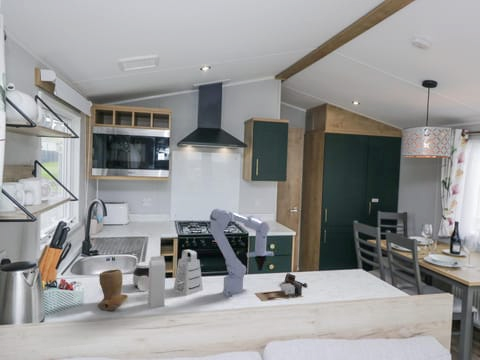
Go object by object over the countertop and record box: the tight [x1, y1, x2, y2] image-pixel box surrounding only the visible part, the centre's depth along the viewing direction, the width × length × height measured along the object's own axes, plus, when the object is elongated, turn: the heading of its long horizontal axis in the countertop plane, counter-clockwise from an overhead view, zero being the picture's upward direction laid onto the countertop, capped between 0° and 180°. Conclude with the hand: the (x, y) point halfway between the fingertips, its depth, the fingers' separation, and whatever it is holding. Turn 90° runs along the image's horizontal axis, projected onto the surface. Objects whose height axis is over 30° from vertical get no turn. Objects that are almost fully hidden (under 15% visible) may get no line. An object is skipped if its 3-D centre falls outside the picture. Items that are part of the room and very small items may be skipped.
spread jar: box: [132, 261, 150, 292], centre depth 167 cm, size 12×11×12 cm
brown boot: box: [97, 268, 129, 312], centre depth 145 cm, size 15×12×15 cm
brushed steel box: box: [280, 283, 297, 296], centre depth 162 cm, size 7×7×4 cm
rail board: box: [254, 280, 304, 302], centre depth 161 cm, size 22×10×6 cm, turn 109°
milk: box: [147, 255, 166, 309], centre depth 147 cm, size 6×6×22 cm
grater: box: [173, 248, 204, 296], centre depth 166 cm, size 10×10×20 cm
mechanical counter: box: [283, 272, 308, 289], centre depth 176 cm, size 7×13×10 cm
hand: (259, 270), depth 171 cm, fingers closed
